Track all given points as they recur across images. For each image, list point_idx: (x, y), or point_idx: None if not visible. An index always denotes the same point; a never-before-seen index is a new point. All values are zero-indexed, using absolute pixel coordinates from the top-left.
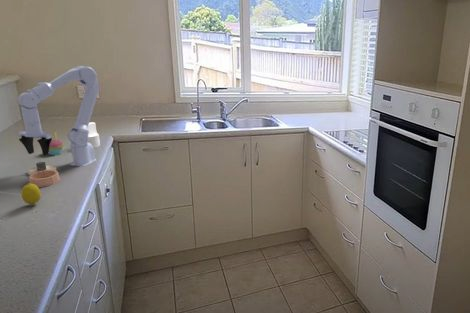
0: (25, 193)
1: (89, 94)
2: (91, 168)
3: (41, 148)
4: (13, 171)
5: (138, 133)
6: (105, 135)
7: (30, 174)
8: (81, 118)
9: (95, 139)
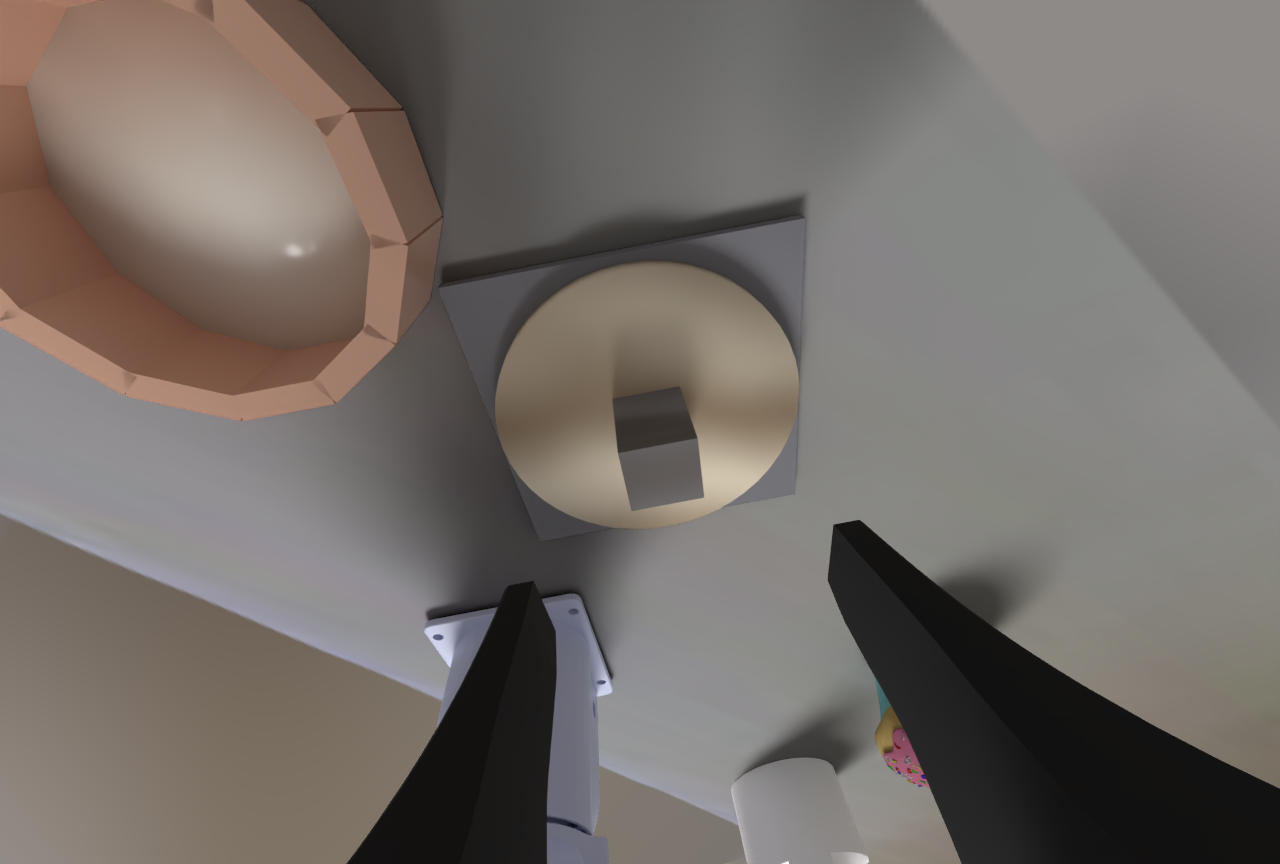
0: None
1: None
2: (337, 627)
3: (495, 714)
4: (1006, 288)
5: None
6: None
7: (644, 266)
8: None
9: (747, 847)
